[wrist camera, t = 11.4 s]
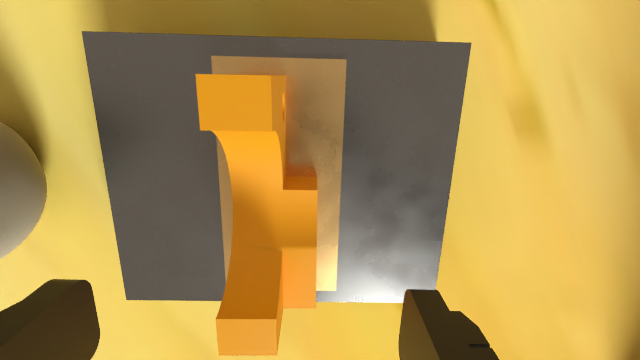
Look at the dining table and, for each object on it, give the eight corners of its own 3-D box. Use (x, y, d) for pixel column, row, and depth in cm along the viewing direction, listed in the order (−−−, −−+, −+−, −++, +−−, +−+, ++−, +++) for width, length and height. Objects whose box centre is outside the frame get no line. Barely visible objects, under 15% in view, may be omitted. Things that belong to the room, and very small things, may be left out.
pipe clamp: (315, 274, 21) (315, 355, 15) (246, 274, 21) (219, 355, 15) (319, 75, 18) (322, 76, 12) (236, 74, 18) (195, 74, 12)
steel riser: (437, 49, 23) (473, 42, 18) (412, 263, 27) (434, 304, 22) (131, 40, 22) (79, 30, 17) (159, 259, 27) (124, 301, 22)
